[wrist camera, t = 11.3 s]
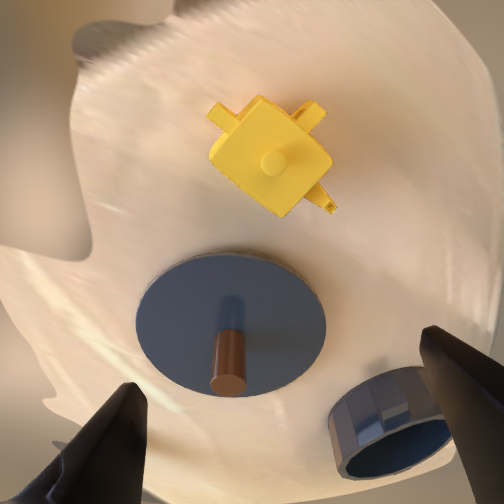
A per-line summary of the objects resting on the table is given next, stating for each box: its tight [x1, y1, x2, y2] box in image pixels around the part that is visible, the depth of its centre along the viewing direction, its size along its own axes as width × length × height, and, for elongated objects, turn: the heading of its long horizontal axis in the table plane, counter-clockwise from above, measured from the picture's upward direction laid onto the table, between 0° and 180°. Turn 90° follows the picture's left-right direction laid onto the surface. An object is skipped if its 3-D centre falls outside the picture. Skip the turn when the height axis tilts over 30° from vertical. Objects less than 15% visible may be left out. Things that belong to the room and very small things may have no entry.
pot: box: [328, 367, 452, 481], centre depth 28 cm, size 14×19×6 cm
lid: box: [136, 252, 326, 398], centre depth 22 cm, size 15×15×6 cm
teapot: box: [206, 95, 337, 218], centre depth 16 cm, size 8×6×5 cm
